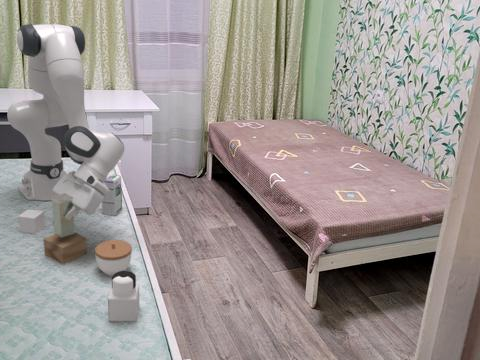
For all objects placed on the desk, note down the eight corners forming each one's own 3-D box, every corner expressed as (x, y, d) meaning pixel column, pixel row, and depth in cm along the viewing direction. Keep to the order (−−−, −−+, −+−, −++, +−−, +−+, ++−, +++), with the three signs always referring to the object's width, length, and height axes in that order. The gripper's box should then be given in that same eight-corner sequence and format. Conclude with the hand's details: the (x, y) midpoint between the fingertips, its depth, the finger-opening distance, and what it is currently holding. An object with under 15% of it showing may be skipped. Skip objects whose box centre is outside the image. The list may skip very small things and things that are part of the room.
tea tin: (53, 232, 154) (51, 196, 150) (67, 228, 158) (65, 193, 153) (61, 237, 151) (58, 201, 147) (75, 233, 155) (73, 197, 150)
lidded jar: (100, 283, 144) (99, 254, 140) (92, 265, 152) (91, 238, 149) (136, 275, 148) (135, 248, 145) (126, 259, 157) (126, 232, 154)
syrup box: (116, 216, 186) (115, 180, 180) (101, 213, 187) (100, 178, 181) (122, 210, 191) (121, 175, 186) (108, 208, 192) (107, 173, 187)
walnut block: (45, 255, 156) (43, 239, 154) (68, 245, 163) (67, 229, 161) (63, 265, 152) (62, 247, 149) (86, 253, 159) (85, 237, 157)
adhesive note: (35, 234, 168) (34, 218, 166) (19, 232, 169) (18, 216, 167) (45, 226, 174) (43, 211, 172) (29, 224, 175) (27, 209, 173)
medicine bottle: (113, 305, 134) (111, 267, 130) (139, 305, 135) (139, 267, 130) (108, 321, 127) (107, 282, 123) (136, 322, 128) (136, 282, 124)
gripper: (64, 164, 159) (38, 199, 156) (99, 183, 147) (71, 221, 143) (78, 174, 164) (52, 208, 161) (112, 193, 151) (85, 230, 148)
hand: (61, 215), depth 152 cm, fingers closed on tea tin, 4 cm apart
